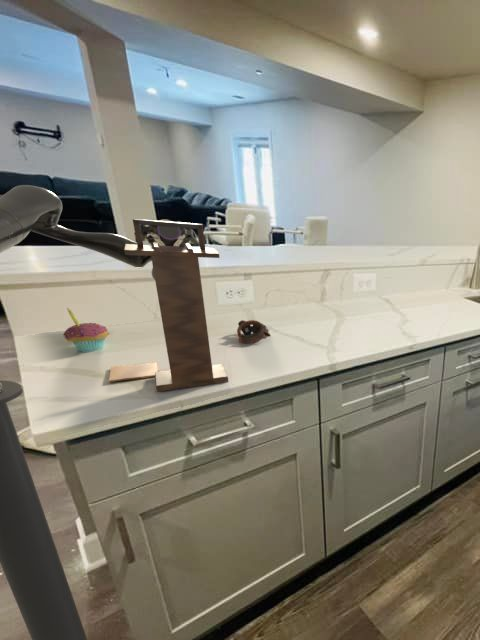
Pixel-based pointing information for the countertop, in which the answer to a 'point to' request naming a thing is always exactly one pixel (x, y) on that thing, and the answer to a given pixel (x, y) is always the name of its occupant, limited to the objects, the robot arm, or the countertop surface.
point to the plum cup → (168, 231)
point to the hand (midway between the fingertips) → (166, 223)
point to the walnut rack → (181, 308)
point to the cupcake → (86, 335)
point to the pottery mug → (257, 329)
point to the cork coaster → (133, 371)
